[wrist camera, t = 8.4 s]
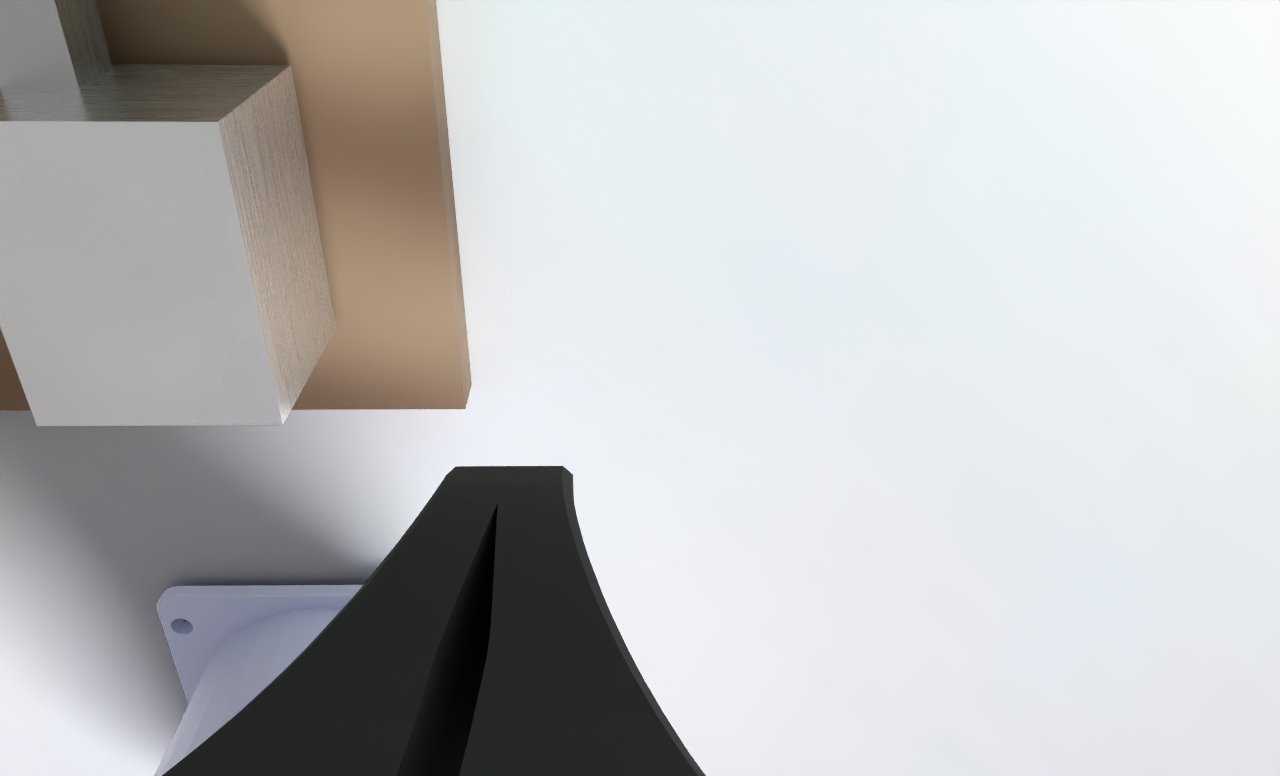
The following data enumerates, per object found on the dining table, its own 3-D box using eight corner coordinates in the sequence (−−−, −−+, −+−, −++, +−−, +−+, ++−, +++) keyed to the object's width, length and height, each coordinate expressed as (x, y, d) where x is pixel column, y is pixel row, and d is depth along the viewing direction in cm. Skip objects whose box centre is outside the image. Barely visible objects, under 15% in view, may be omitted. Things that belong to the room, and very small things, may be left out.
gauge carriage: (335, 328, 19) (282, 425, 16) (129, 327, 19) (37, 426, 16) (244, -213, 14) (144, -220, 11) (-30, -216, 14) (-203, -223, 11)
